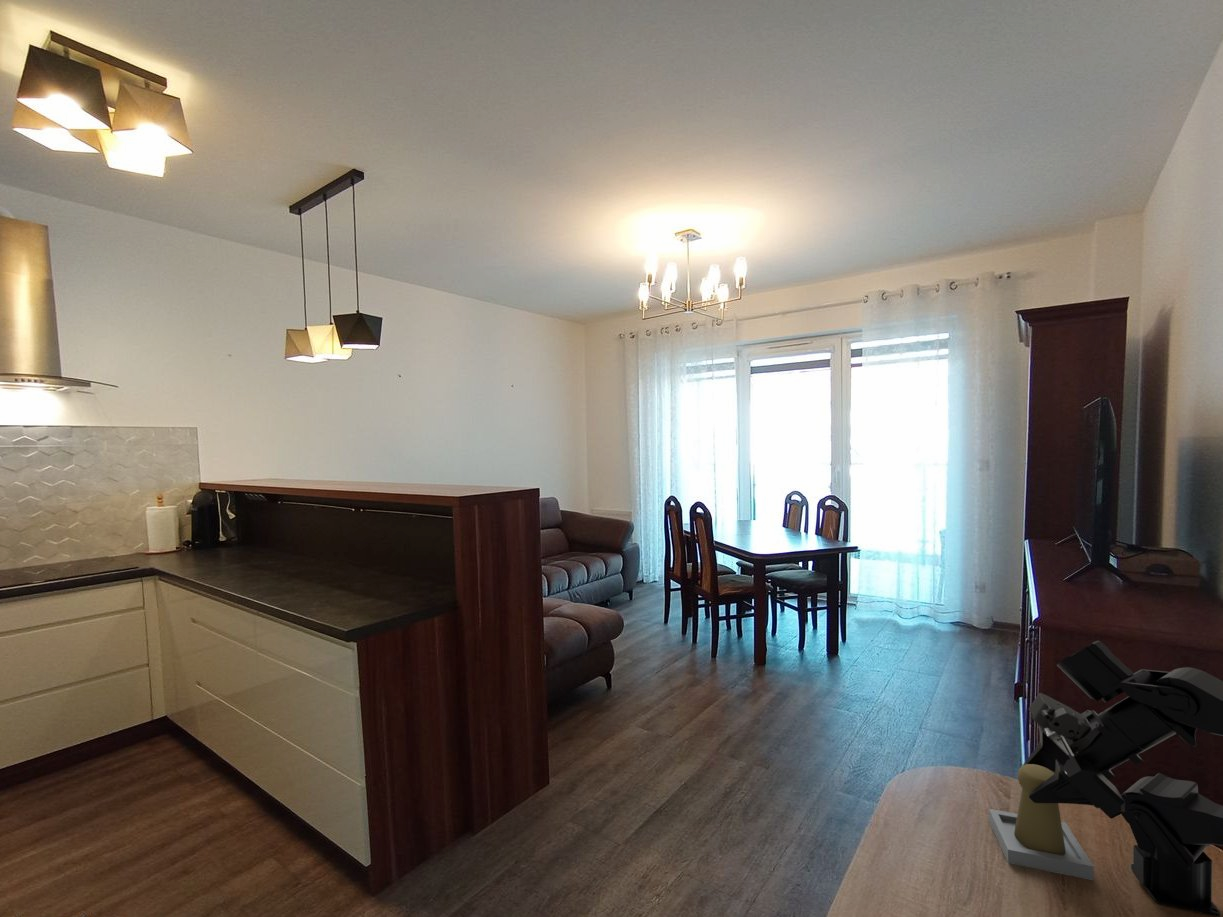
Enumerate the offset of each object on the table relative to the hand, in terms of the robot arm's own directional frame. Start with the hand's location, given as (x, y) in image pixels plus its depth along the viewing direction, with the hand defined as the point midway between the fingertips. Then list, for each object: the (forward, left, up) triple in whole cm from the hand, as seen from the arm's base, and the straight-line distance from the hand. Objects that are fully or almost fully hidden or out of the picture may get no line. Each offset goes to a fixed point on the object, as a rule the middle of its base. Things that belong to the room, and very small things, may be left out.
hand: (1026, 786), depth 81 cm
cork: (-1, 0, -8) cm, 8 cm away
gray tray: (-1, 0, -9) cm, 9 cm away
